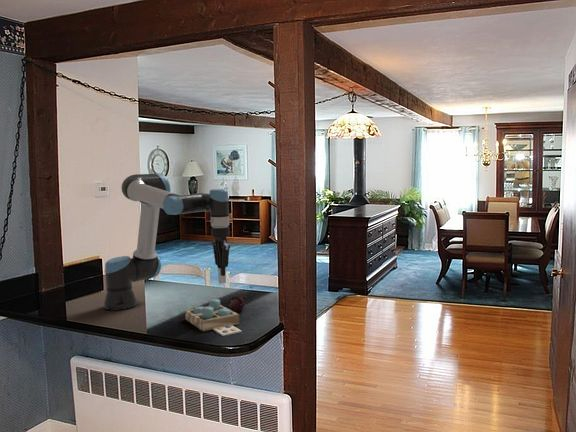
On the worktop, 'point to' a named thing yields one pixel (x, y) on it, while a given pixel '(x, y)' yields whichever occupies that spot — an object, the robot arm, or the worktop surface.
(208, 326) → the wooden compartment tray
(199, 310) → the teal rounded lump
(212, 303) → the teal blunt egg shape
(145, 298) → the worktop surface
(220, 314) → the teal blunt tapered piece
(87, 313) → the worktop surface
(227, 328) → the card
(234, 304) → the icecream
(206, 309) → the teal domed cylinder
